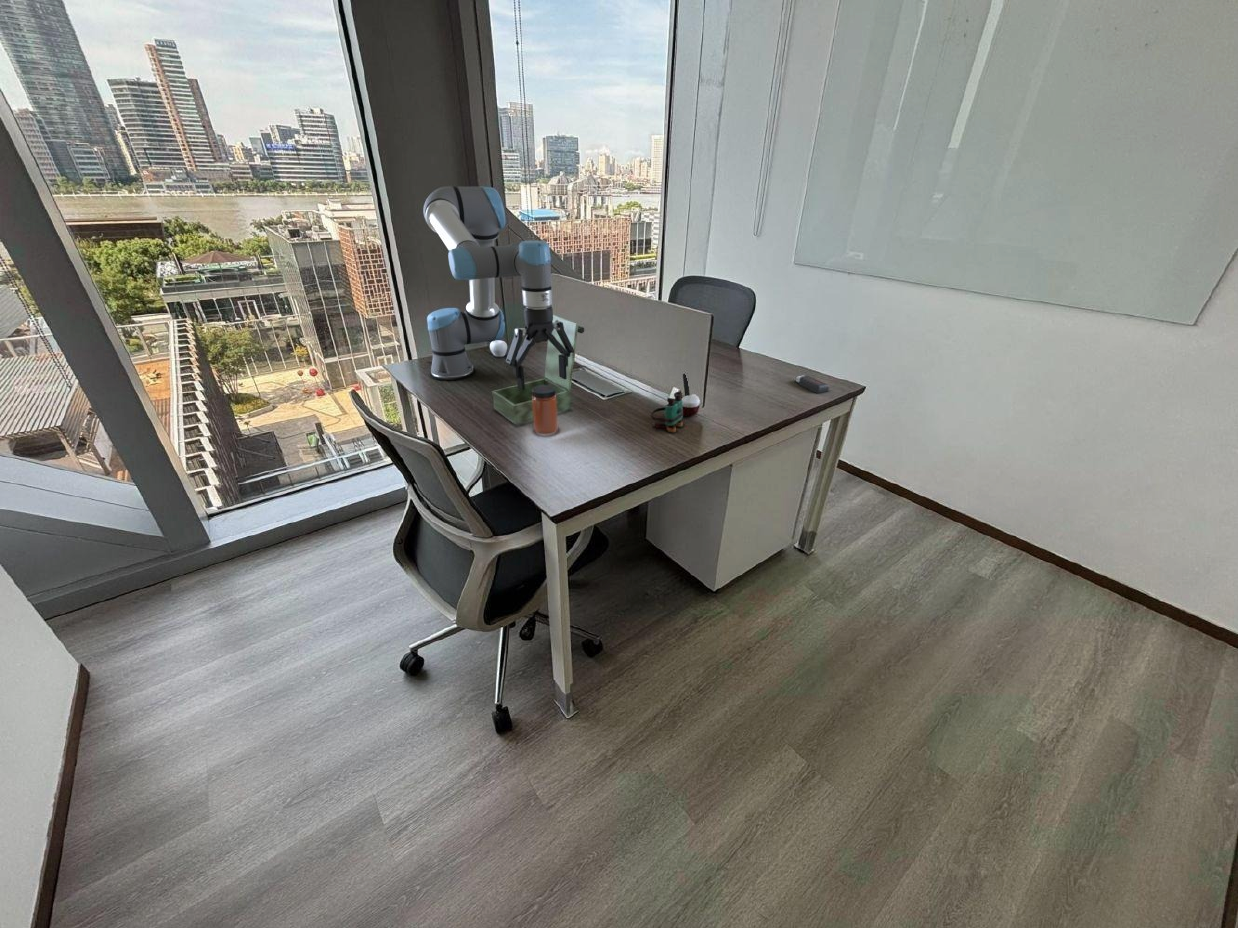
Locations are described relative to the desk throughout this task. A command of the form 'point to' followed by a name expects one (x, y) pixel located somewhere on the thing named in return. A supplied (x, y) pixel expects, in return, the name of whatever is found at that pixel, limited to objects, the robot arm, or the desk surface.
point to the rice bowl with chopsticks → (689, 401)
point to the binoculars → (670, 414)
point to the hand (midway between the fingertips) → (542, 383)
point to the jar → (544, 409)
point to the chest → (526, 400)
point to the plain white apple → (498, 348)
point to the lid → (553, 353)
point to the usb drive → (812, 384)
